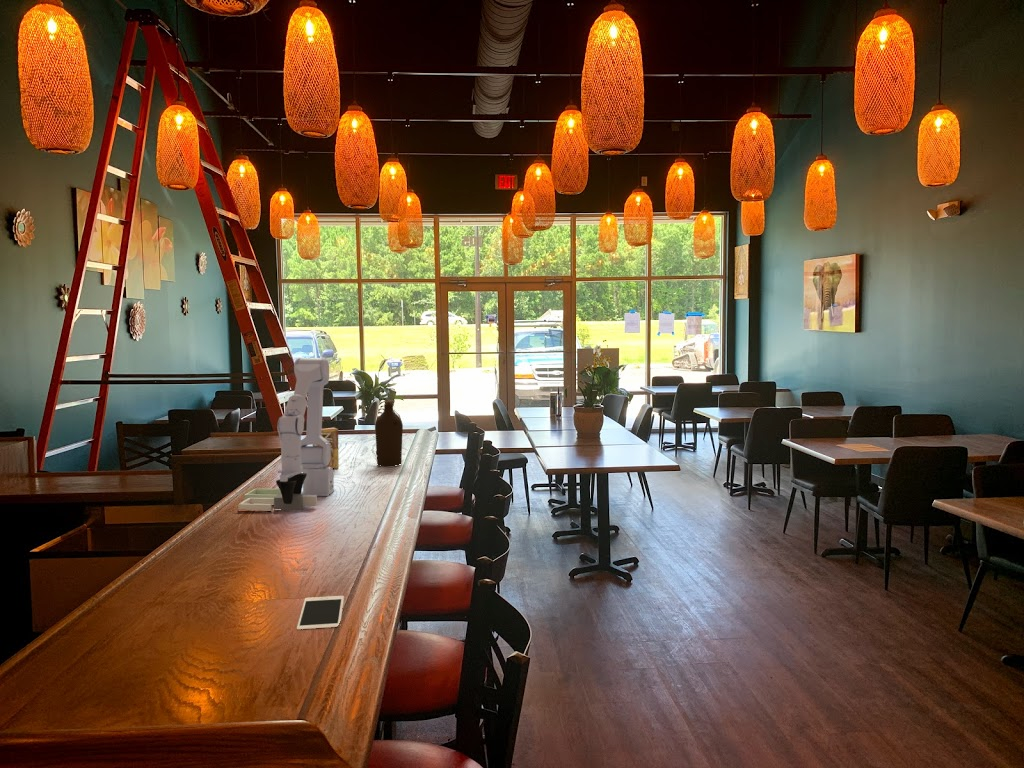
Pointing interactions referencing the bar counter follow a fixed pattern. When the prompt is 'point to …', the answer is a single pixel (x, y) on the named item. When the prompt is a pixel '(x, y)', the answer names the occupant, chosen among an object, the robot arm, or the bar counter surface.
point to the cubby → (257, 504)
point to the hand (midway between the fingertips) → (292, 500)
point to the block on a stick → (295, 502)
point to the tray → (262, 493)
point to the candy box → (332, 445)
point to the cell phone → (321, 612)
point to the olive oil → (388, 437)
